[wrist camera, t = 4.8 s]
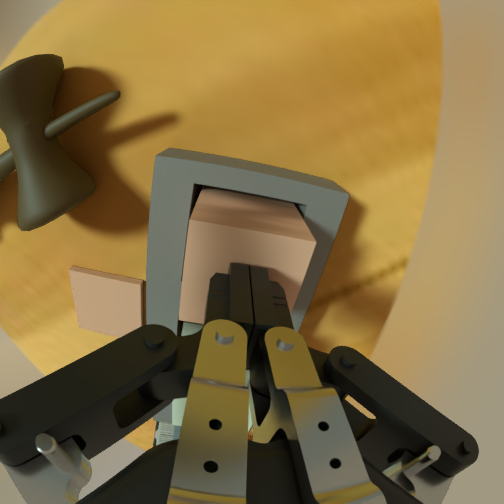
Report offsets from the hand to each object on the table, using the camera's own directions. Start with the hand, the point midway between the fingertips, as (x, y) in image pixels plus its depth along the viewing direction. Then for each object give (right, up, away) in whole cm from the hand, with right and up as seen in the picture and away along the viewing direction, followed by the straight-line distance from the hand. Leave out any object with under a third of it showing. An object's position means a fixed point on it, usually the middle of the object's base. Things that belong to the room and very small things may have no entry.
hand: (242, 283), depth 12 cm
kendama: (-16, +8, +3) cm, 18 cm away
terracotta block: (0, +2, +4) cm, 5 cm away
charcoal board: (-2, -4, +10) cm, 11 cm away
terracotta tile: (-11, -3, +8) cm, 14 cm away
